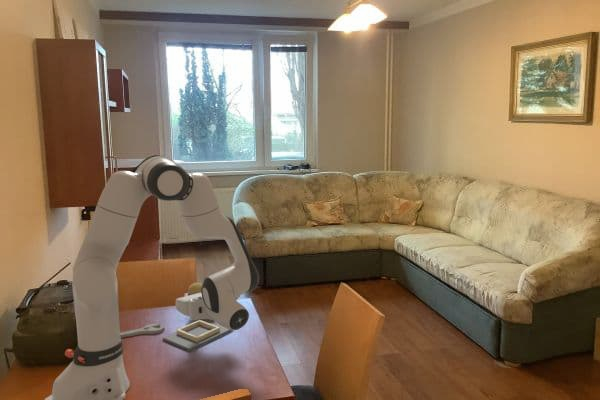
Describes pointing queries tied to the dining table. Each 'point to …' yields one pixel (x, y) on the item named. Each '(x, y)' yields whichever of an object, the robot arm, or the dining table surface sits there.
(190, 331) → the board
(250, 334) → the dining table surface
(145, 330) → the adjustable wrench
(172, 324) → the dining table surface
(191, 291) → the light bulb
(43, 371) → the dining table surface
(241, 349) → the dining table surface
